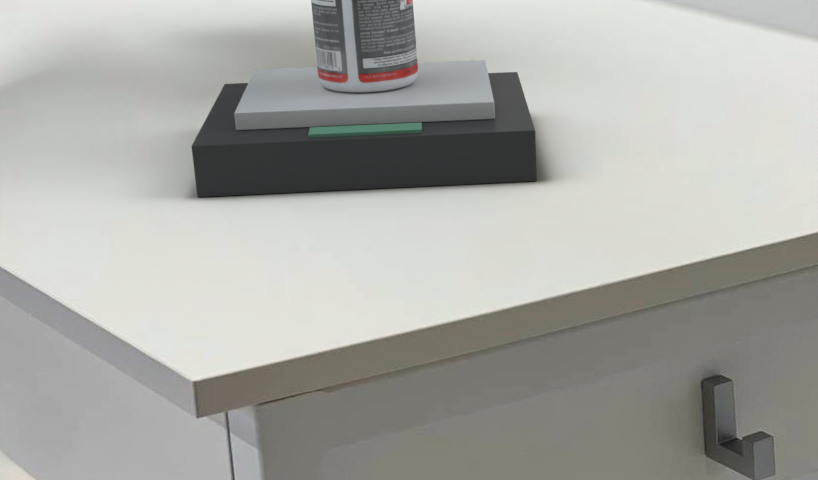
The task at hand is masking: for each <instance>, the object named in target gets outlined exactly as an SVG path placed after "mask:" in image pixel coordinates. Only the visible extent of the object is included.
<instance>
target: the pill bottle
mask: <svg viewBox="0 0 818 480" xmlns="http://www.w3.org/2000/svg"><path fill="white" fill-rule="evenodd" d="M310 2H311V13H312V24H313V36H314V47H315V57H316V67H317V69H318V77H319V81H320V83H321V84H322V85H323V86H324V87H325V88H327V89H330V90H333V91H338V92H350V93H366V92H380V91H388V90H393V89H398V88H402V87H405V86H408V85H410V84H412V83H413V82H414V81H415V80H416V78H417V75H418V63H419V62H418V54H417V53H418V52H417V39H416V26H415V13H414V0H310Z"/></svg>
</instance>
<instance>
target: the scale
mask: <svg viewBox="0 0 818 480" xmlns="http://www.w3.org/2000/svg"><path fill="white" fill-rule="evenodd" d="M417 63H418V75H417V78H416V80H415V81H414V82H413V83H412V84H410V85H408V86H405V87H402V88H398V89H393V90H388V91H380V92H366V93H350V92H338V91H333V90H330V89H327V88H325V87H324V86H323V85H322V84H321V83H320V81H319V77H318V69H317V66H308V67H307V66H306V67H282V68H257V69H256V68H255V69H254V70H253V72H252V75H251V77H250V78H249V81H248V82H238V83H237V82H236V83H224V84H223V86H222V88H221V90H220V92H219V93H218V96H217V98H216V99H215V101H214V103H213V105H212V107H211V108H210V110H209V112H208V113H207V116H206V118H205V120H204V122H203V124H202V125H201V128H200V130H199V131H198V133H197V135H196V137H195V139H194V141H193V143H192V144H191V154H192V163H193V171H194V172H193V173H194V179H195V189H196V196H197V198H211V197H230V196H231V197H232V196H233V197H234V196H250V195H251V196H252V195H272V194H273V195H275V194H292V193H293V194H295V193H296V194H297V193H314V192H333V191H334V192H335V191H336V192H338V191H356V190H357V191H358V190H377V189H398V188H421V187H440V186H442V187H443V186H462V185H463V186H464V185H481V184H482V185H483V184H501V183H503V184H504V183H505V184H506V183H521V182H522V183H523V182H527V183H528V182H538V168H537V167H538V166H537V142H536V138H537V137H536V129H535V126H534V122H533V119H532V115H531V113H530V110H529V106H528V103H527V99H526V96H525V93H524V89H523V87H522V86H523V85H522V83H521V79H520V76H519V73H518V72H517V71H507V72H506V71H505V72H504V71H503V72H489V71H488V67H487V62H486V60H485V59H483V60H479V59H478V60H459V61H458V60H455V61H432V62H417Z"/></svg>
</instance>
